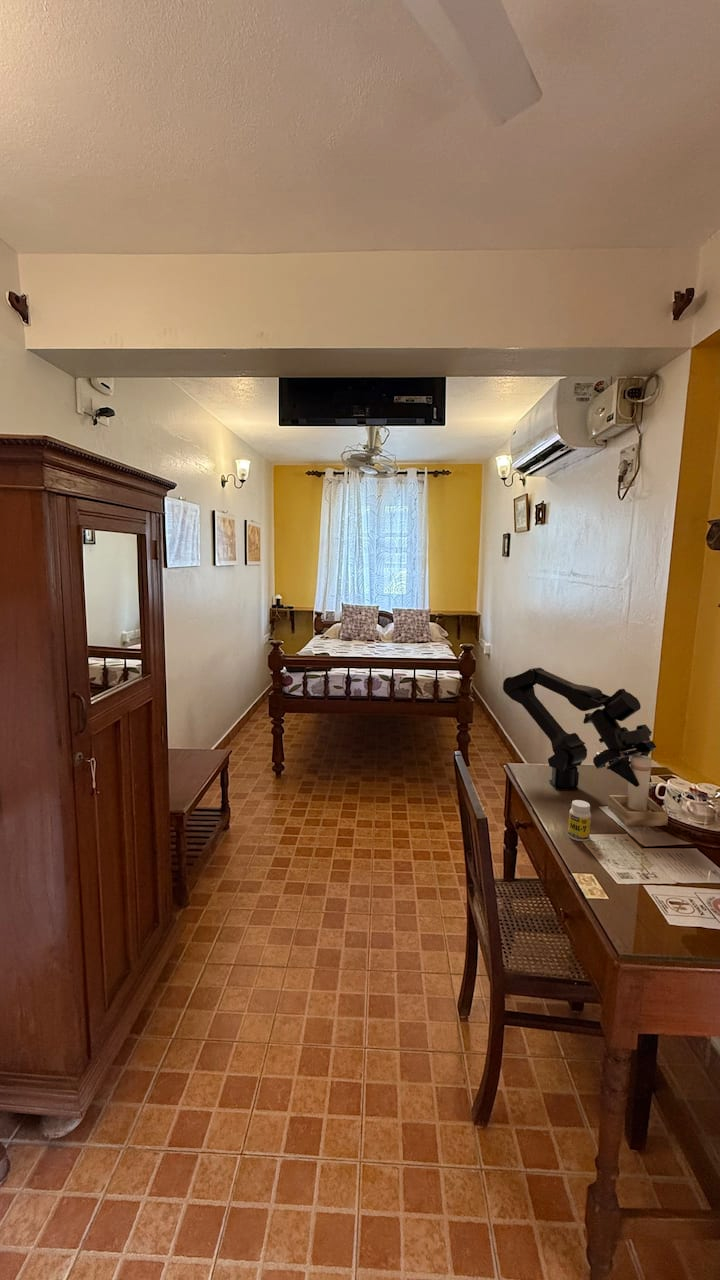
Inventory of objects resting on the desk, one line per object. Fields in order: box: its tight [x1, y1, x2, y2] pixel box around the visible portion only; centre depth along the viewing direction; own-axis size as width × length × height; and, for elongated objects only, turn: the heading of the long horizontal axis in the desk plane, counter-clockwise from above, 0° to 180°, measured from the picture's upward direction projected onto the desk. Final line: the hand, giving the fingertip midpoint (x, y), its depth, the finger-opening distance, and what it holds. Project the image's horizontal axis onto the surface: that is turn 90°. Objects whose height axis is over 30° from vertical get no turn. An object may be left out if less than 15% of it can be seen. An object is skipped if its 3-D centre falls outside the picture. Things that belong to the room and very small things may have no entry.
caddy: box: [607, 794, 669, 828], centre depth 141 cm, size 10×10×4 cm
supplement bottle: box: [567, 799, 592, 842], centre depth 130 cm, size 5×5×8 cm
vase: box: [627, 755, 653, 811], centre depth 140 cm, size 5×5×13 cm
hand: (644, 784), depth 138 cm, fingers closed on vase, 5 cm apart
